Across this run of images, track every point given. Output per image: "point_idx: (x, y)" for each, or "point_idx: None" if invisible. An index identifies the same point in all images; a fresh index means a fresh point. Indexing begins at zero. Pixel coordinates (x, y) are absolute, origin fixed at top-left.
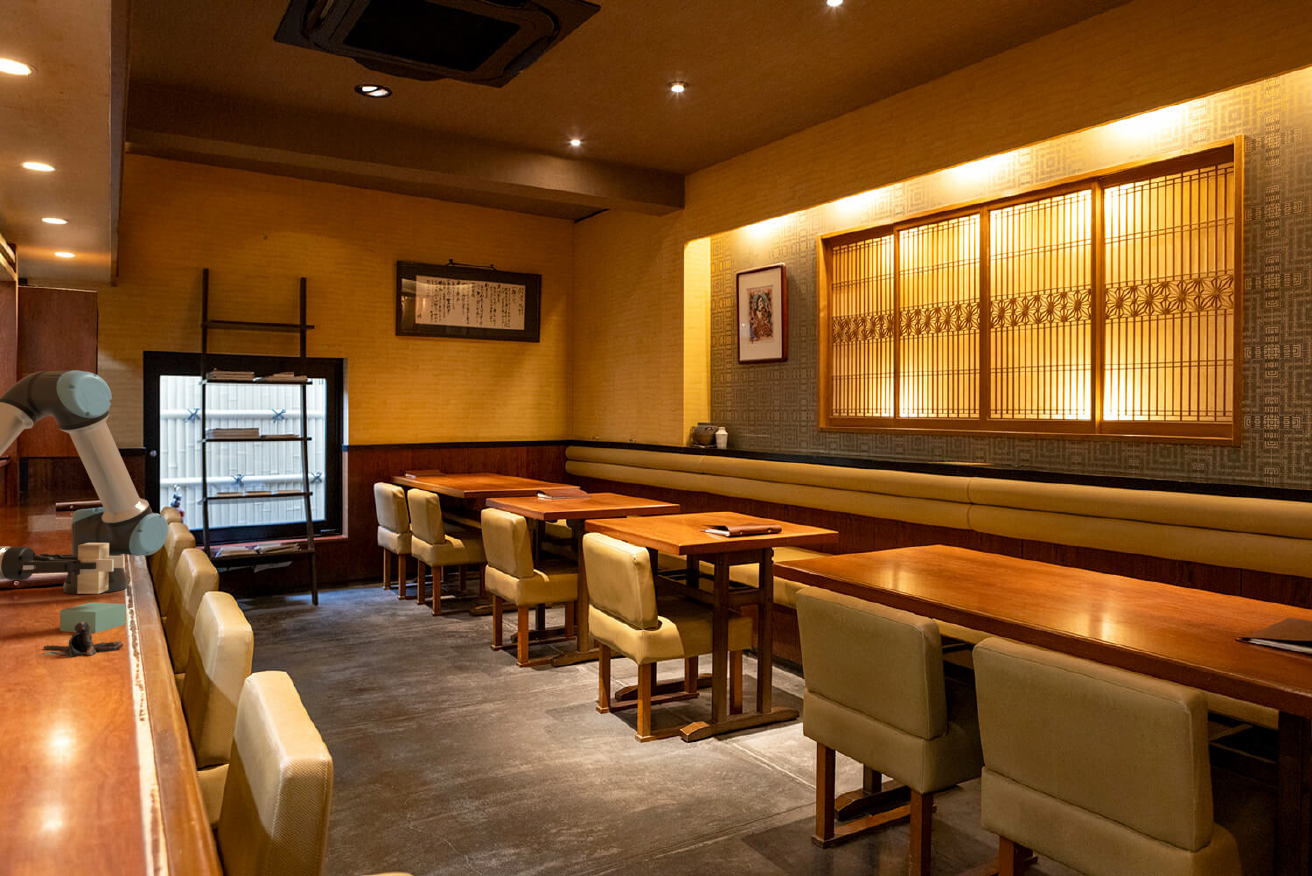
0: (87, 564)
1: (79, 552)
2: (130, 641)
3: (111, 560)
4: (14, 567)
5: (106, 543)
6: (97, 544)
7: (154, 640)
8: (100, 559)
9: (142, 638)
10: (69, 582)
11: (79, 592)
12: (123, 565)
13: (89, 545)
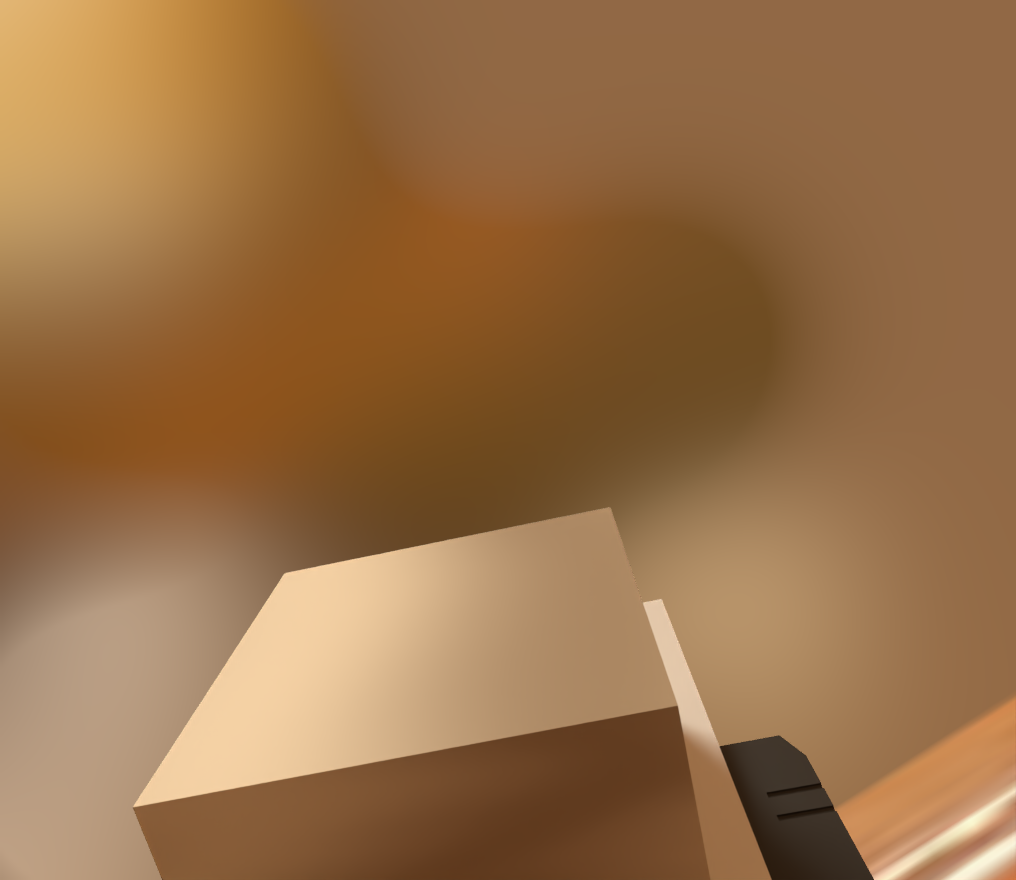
0: (832, 814)
1: (696, 847)
2: (1001, 855)
3: (664, 610)
4: None
5: (354, 561)
6: (490, 566)
7: (912, 766)
8: (679, 679)
9: (902, 839)
10: None
11: None
12: None
13: (633, 575)
